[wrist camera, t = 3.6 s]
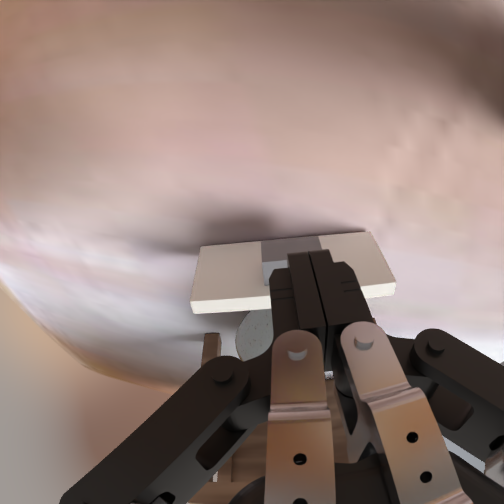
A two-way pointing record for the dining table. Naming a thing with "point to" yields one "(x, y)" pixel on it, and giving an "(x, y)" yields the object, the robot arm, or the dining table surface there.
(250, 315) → the ceramic mug
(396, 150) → the dining table surface
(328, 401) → the brown wooden small table
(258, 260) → the pull-out front
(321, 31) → the dining table surface
